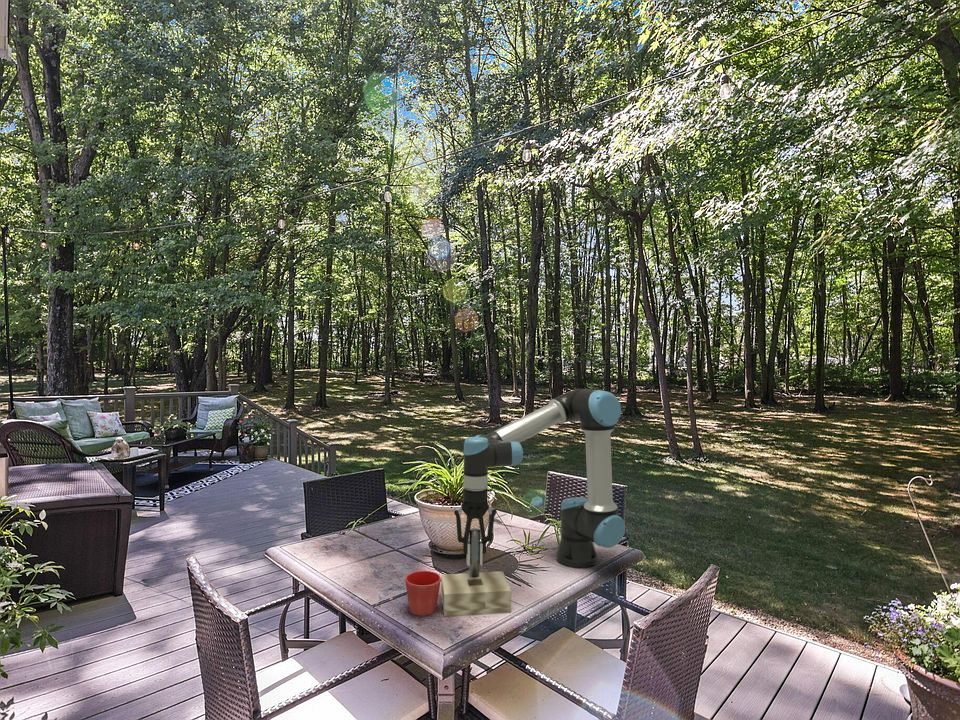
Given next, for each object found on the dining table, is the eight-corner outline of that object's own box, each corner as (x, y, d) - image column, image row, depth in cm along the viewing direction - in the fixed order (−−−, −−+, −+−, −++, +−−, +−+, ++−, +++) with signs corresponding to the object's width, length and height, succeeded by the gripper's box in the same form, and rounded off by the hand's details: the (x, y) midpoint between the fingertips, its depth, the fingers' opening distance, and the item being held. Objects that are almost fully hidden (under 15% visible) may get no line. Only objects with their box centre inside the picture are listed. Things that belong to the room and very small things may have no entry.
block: (502, 591, 171) (502, 571, 171) (511, 612, 157) (511, 590, 157) (441, 594, 168) (441, 574, 168) (444, 616, 154) (444, 594, 154)
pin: (478, 573, 164) (479, 528, 164) (480, 577, 161) (480, 531, 161) (468, 573, 163) (469, 528, 163) (469, 577, 160) (470, 532, 160)
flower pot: (441, 600, 164) (441, 569, 164) (439, 618, 153) (440, 585, 153) (407, 601, 164) (407, 570, 163) (403, 619, 153) (403, 585, 152)
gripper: (499, 484, 167) (498, 558, 167) (448, 485, 165) (447, 560, 165) (503, 490, 159) (502, 567, 159) (450, 491, 157) (449, 569, 157)
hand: (474, 563), depth 162 cm, fingers closed on pin, 3 cm apart
